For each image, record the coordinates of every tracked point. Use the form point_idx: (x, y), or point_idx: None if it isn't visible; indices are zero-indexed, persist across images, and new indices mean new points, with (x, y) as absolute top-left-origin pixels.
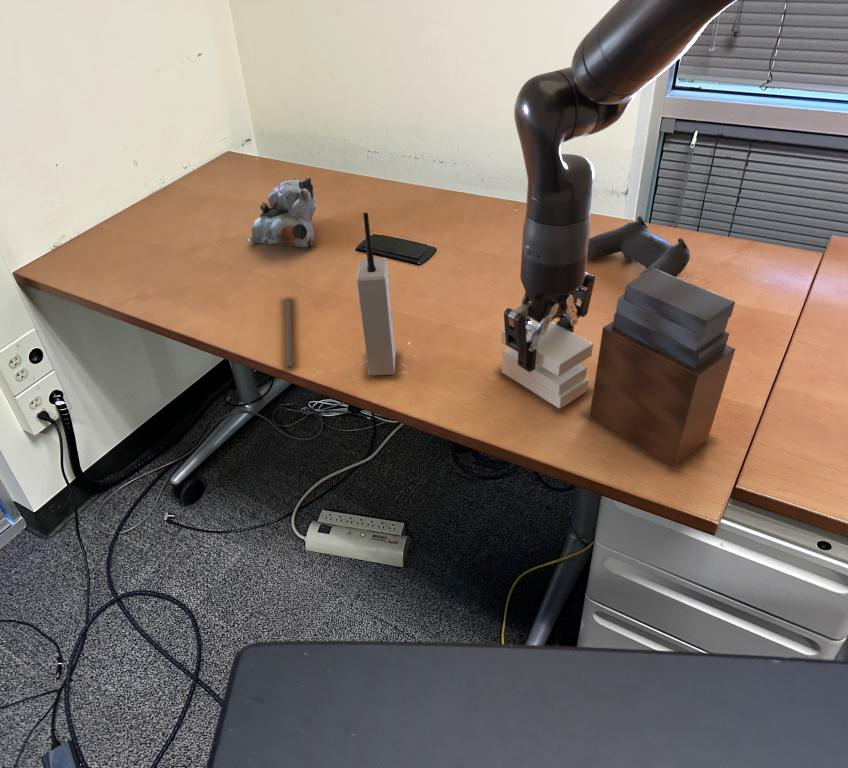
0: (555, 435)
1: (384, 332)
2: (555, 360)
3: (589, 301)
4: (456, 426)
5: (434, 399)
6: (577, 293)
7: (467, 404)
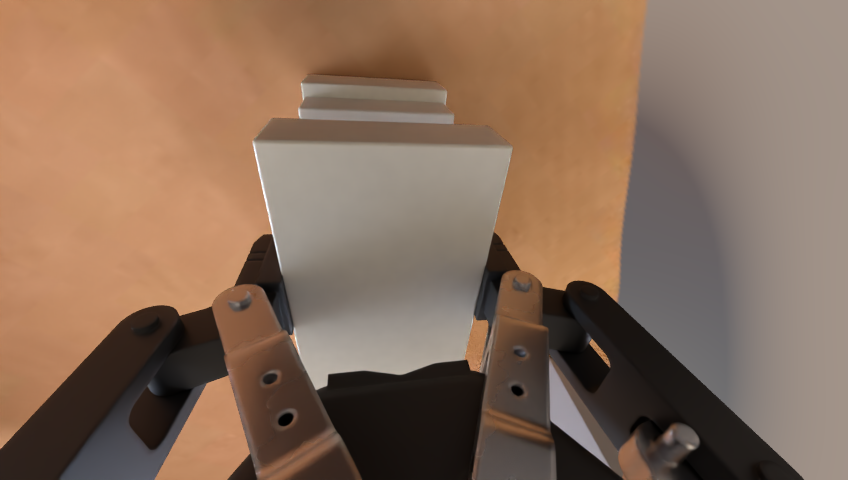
0: (540, 8)
1: (607, 455)
2: (498, 179)
3: (65, 388)
4: (616, 209)
5: (565, 283)
6: (119, 477)
7: (547, 241)
